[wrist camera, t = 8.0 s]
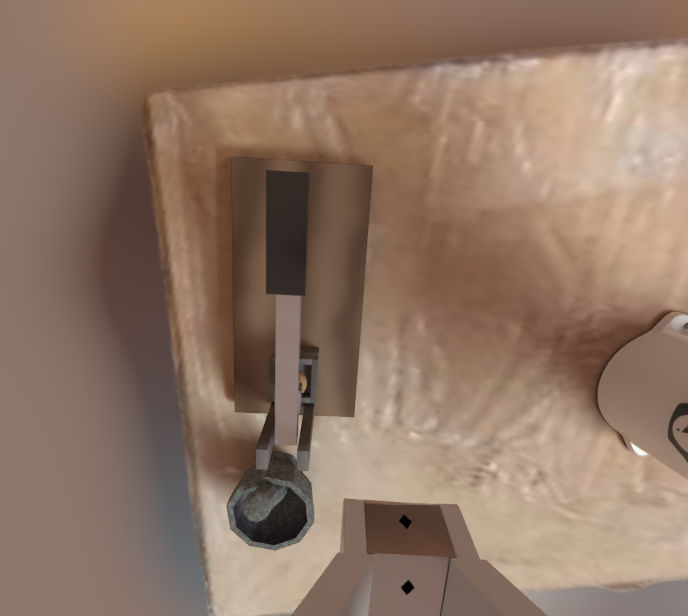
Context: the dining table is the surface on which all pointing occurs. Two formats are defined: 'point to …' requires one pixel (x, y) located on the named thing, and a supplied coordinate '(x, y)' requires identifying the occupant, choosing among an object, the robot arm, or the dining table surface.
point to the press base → (318, 303)
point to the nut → (303, 381)
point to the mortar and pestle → (272, 504)
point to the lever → (287, 288)
